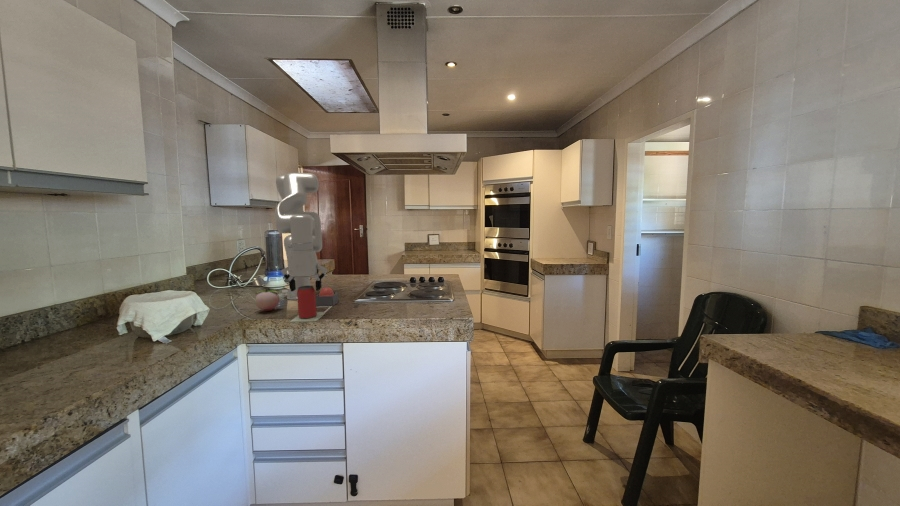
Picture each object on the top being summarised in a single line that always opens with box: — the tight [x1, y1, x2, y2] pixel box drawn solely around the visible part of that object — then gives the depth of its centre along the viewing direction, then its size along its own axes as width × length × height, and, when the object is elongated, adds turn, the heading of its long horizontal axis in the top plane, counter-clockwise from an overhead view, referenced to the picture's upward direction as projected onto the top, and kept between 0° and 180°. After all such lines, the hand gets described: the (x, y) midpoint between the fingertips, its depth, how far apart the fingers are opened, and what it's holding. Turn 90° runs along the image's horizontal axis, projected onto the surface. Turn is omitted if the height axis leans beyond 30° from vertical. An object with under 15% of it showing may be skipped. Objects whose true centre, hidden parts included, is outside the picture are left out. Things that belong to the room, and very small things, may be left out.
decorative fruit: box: [254, 287, 281, 312], centre depth 142 cm, size 9×8×10 cm
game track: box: [289, 291, 339, 323], centre depth 142 cm, size 10×30×4 cm, turn 3°
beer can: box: [297, 285, 318, 319], centre depth 131 cm, size 7×7×12 cm
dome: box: [318, 286, 334, 296], centre depth 152 cm, size 6×6×6 cm
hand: (305, 290), depth 131 cm, fingers open, 9 cm apart
